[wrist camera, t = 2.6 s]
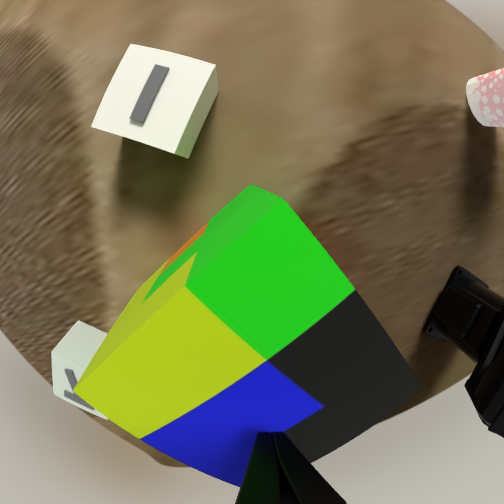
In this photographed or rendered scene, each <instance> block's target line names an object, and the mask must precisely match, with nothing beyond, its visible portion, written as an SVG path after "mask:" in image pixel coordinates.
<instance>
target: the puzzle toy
mask: <svg viewBox="0 0 504 504" xmlns="http://www.w3.org/2000/svg"><path fill="white" fill-rule="evenodd" d="M421 388H422V385H421V384H420V382H419V380H418V379H417V377H416V376H415V374H414V373H413V371H412V370H411V368H410V367H409V365H408V364H407V362H406V361H405V359H404V358H403V356H402V355H401V353H400V352H399V350H398V349H397V347H396V346H395V344H394V343H393V341H392V340H391V338H390V337H389V336H388V334H387V333H386V331H385V330H384V328H383V327H382V325H381V324H380V323H379V321H378V320H377V318H376V317H375V316H374V314H373V313H372V311H371V310H370V309H369V307H368V306H367V305H366V303H365V302H364V300H363V299H362V298H361V296H360V295H359V294H358V292H357V291H356V290H355V288H354V287H353V286H352V284H351V283H350V282H349V280H348V279H347V278H346V276H345V275H344V274H343V272H342V271H341V270H340V269H339V267H338V266H337V265H336V263H335V262H334V261H333V259H332V258H331V257H330V256H329V254H328V253H327V252H326V251H325V249H324V248H323V247H322V245H321V244H320V243H319V242H318V240H317V239H316V238H315V237H314V235H313V234H312V233H311V232H310V231H309V229H308V228H307V227H306V226H305V224H304V223H303V222H302V221H301V220H300V218H299V217H298V216H297V215H296V213H295V212H294V211H293V210H292V209H291V207H290V206H289V205H288V204H287V203H286V202H285V200H284V199H283V198H280V197H278V196H276V195H274V194H272V193H270V192H268V191H265V190H263V189H261V188H259V187H257V186H254V185H252V184H250V185H249V186H248V187H247V188H246V189H244V190H243V191H242V192H241V193H240V194H239V195H238V196H236V197H235V198H234V199H233V200H232V201H231V202H230V203H229V204H227V205H226V206H225V207H224V208H223V209H222V210H221V211H220V212H219V213H218V214H216V215H215V216H214V217H213V218H212V219H211V220H210V221H209V222H208V223H207V224H205V225H204V226H203V227H202V228H201V229H200V230H199V231H198V232H197V233H196V234H195V235H194V236H193V237H192V238H190V239H189V240H188V241H187V242H186V243H185V244H184V245H183V246H182V247H181V248H180V249H179V250H178V251H177V252H176V253H175V254H174V255H173V256H172V257H171V258H169V259H168V260H167V261H166V262H165V263H164V264H163V265H162V266H161V267H160V268H159V269H158V270H157V271H156V272H155V273H154V274H153V275H152V276H151V277H150V278H149V279H148V280H147V281H146V282H145V283H144V284H143V285H142V286H141V287H140V288H139V289H138V290H137V291H136V293H135V294H134V296H133V297H132V299H131V300H130V302H129V303H128V304H127V306H126V307H125V309H124V310H123V312H122V313H121V315H120V316H119V318H118V319H117V321H116V322H115V324H114V325H113V327H112V328H111V330H110V331H109V333H108V334H107V336H106V337H105V339H104V340H103V342H102V344H101V345H100V347H99V348H98V350H97V351H96V353H95V355H94V356H93V358H92V359H91V361H90V363H89V364H88V366H87V368H86V369H85V371H84V373H83V374H82V376H81V378H80V379H79V381H78V383H77V384H76V386H75V388H74V390H73V392H75V393H76V394H77V395H78V396H79V397H81V398H82V399H83V400H84V401H86V402H87V403H88V404H90V405H91V406H92V407H93V408H95V409H96V410H97V411H99V412H100V413H101V414H103V415H104V416H106V417H107V418H108V419H110V420H111V421H113V422H114V423H116V424H117V425H119V426H120V427H121V428H123V429H125V430H126V431H128V432H129V433H131V434H132V435H134V436H135V437H137V438H139V439H140V440H142V441H144V442H145V443H147V444H149V445H150V446H152V447H154V448H156V449H157V450H159V451H161V452H163V453H165V454H167V455H168V456H170V457H172V458H174V459H176V460H178V461H180V462H182V463H184V464H186V465H188V466H190V467H192V468H195V469H197V470H199V471H201V472H203V473H206V474H208V475H211V476H213V477H215V478H218V479H220V480H222V481H225V482H228V483H230V484H233V485H235V486H238V487H241V484H242V481H243V478H244V475H245V471H246V468H247V465H248V462H249V458H250V455H251V452H252V448H253V445H254V441H255V438H256V435H257V432H270V433H271V432H273V431H282V432H284V433H285V434H286V435H287V436H288V437H289V439H290V440H291V441H292V442H293V443H294V445H295V446H296V447H297V448H298V449H299V451H300V452H301V453H302V454H303V455H304V456H305V458H306V459H307V460H308V461H309V462H310V463H312V462H314V461H316V460H318V459H319V458H321V457H323V456H325V455H327V454H328V453H330V452H332V451H334V450H336V449H337V448H339V447H341V446H342V445H344V444H346V443H347V442H349V441H350V440H352V439H354V438H355V437H357V436H359V435H360V434H362V433H363V432H364V431H366V430H368V429H369V428H371V427H372V426H373V425H375V424H376V423H378V422H379V421H381V420H382V419H383V418H385V417H386V416H387V415H389V414H390V413H392V412H393V411H394V410H395V409H397V408H398V407H399V406H401V405H402V404H403V403H404V402H406V401H407V400H408V399H409V398H411V397H412V396H413V395H414V394H415V393H417V392H418V391H419V390H420V389H421Z"/></svg>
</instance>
